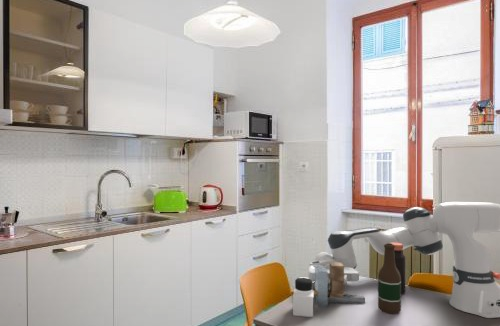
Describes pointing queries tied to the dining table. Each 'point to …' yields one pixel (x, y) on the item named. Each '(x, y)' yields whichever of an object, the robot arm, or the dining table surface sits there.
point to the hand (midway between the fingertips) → (336, 281)
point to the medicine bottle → (303, 298)
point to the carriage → (336, 280)
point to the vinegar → (400, 264)
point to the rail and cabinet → (321, 290)
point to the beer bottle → (389, 283)
